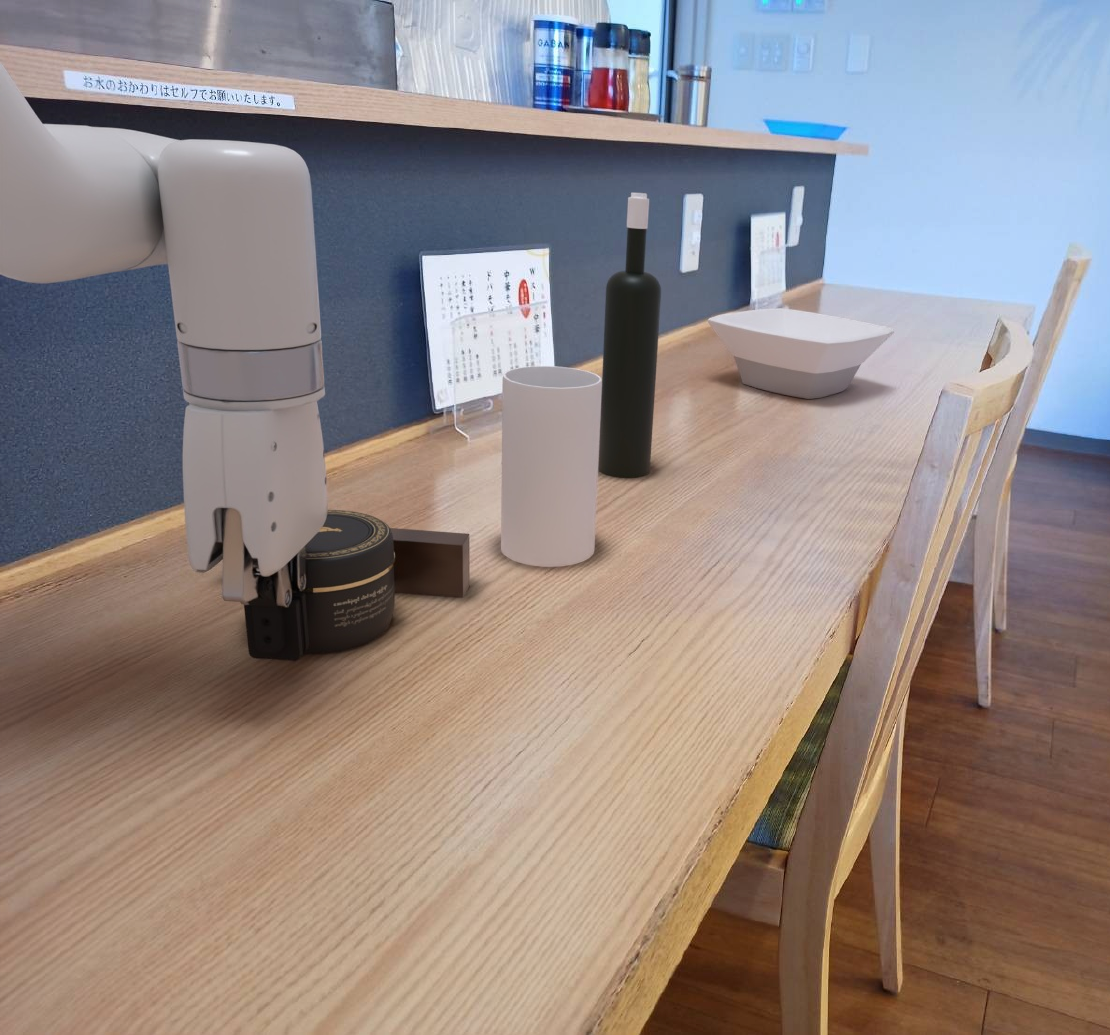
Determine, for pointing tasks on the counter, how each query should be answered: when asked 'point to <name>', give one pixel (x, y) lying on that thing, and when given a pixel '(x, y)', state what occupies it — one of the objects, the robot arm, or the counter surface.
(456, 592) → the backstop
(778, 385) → the bowl
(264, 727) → the counter surface
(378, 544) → the jar
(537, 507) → the cup
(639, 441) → the wine bottle
